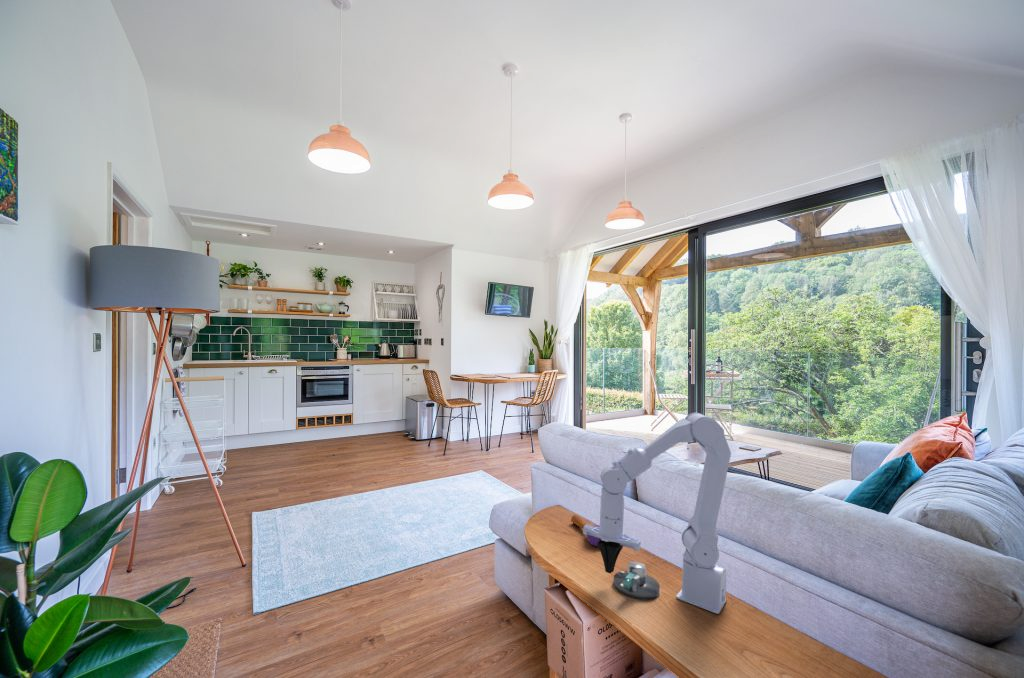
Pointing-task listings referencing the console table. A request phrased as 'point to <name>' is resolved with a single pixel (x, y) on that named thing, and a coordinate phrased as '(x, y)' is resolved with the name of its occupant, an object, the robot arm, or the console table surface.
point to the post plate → (637, 587)
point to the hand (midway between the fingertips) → (609, 571)
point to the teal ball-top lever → (634, 574)
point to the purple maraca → (580, 523)
